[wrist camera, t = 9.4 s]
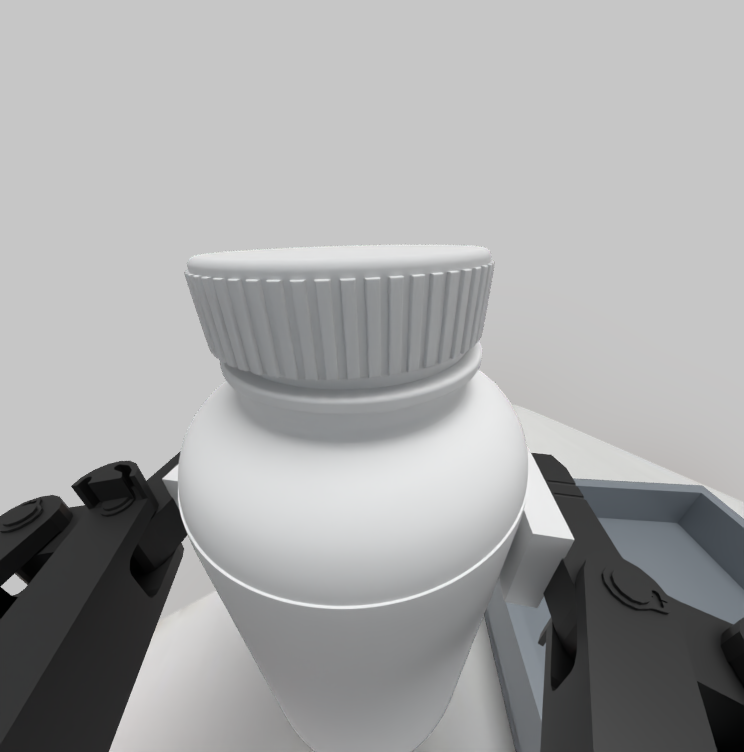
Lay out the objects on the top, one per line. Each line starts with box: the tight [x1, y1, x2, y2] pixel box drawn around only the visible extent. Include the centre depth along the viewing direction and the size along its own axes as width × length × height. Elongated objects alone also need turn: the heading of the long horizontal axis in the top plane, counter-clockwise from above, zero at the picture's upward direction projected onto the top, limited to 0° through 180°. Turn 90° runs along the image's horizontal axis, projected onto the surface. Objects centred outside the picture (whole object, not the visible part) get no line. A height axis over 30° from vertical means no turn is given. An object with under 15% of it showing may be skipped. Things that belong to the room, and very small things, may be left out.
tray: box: [484, 479, 744, 752], centre depth 16 cm, size 20×20×5 cm
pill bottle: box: [178, 245, 529, 752], centre depth 8 cm, size 8×8×15 cm
